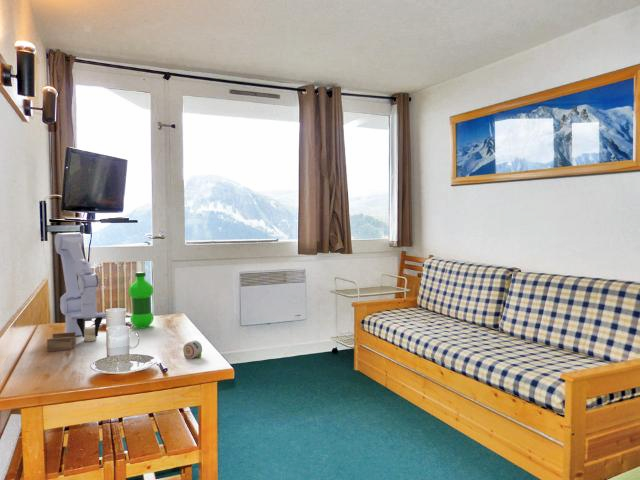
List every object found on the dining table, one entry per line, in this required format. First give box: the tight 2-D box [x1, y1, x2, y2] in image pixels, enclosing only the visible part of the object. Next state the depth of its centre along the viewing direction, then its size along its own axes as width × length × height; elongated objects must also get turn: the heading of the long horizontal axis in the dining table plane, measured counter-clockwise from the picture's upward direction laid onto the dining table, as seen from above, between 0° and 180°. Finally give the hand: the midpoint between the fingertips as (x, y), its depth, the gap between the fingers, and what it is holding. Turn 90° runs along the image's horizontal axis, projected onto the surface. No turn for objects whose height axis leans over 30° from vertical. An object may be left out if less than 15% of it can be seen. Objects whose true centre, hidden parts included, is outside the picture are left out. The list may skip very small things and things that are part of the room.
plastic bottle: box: [128, 271, 154, 329], centre depth 225 cm, size 10×10×25 cm
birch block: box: [83, 326, 98, 342], centre depth 202 cm, size 4×4×5 cm
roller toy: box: [182, 340, 203, 360], centre depth 173 cm, size 4×6×6 cm
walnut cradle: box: [46, 332, 77, 352], centre depth 191 cm, size 10×8×4 cm
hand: (90, 336), depth 202 cm, fingers closed on birch block, 4 cm apart
